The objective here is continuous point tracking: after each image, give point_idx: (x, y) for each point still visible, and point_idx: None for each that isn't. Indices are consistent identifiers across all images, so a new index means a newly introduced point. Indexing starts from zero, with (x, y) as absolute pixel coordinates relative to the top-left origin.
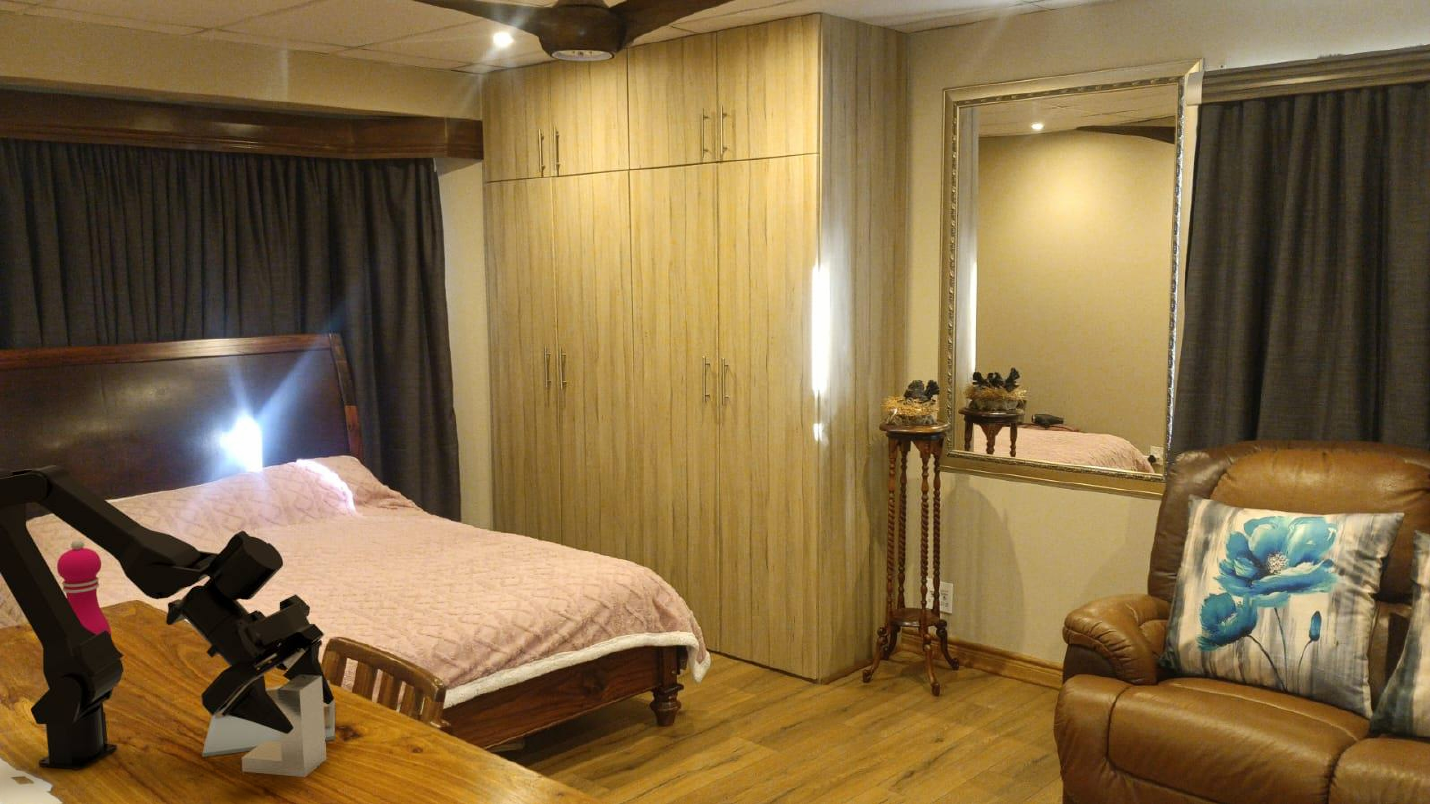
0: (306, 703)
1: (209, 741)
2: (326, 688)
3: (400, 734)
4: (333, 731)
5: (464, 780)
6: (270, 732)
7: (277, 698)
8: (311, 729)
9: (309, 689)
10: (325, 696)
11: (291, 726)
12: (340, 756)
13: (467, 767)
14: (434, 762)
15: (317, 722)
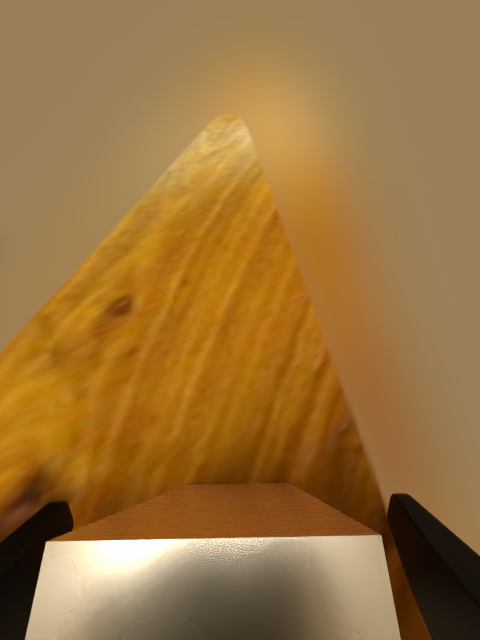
0: (279, 512)
1: None
2: (14, 554)
3: (38, 377)
4: None
5: (228, 196)
6: None
7: None
8: (246, 494)
9: (240, 527)
10: None
11: (409, 498)
12: (163, 457)
13: (183, 208)
14: (171, 258)
15: (202, 496)
